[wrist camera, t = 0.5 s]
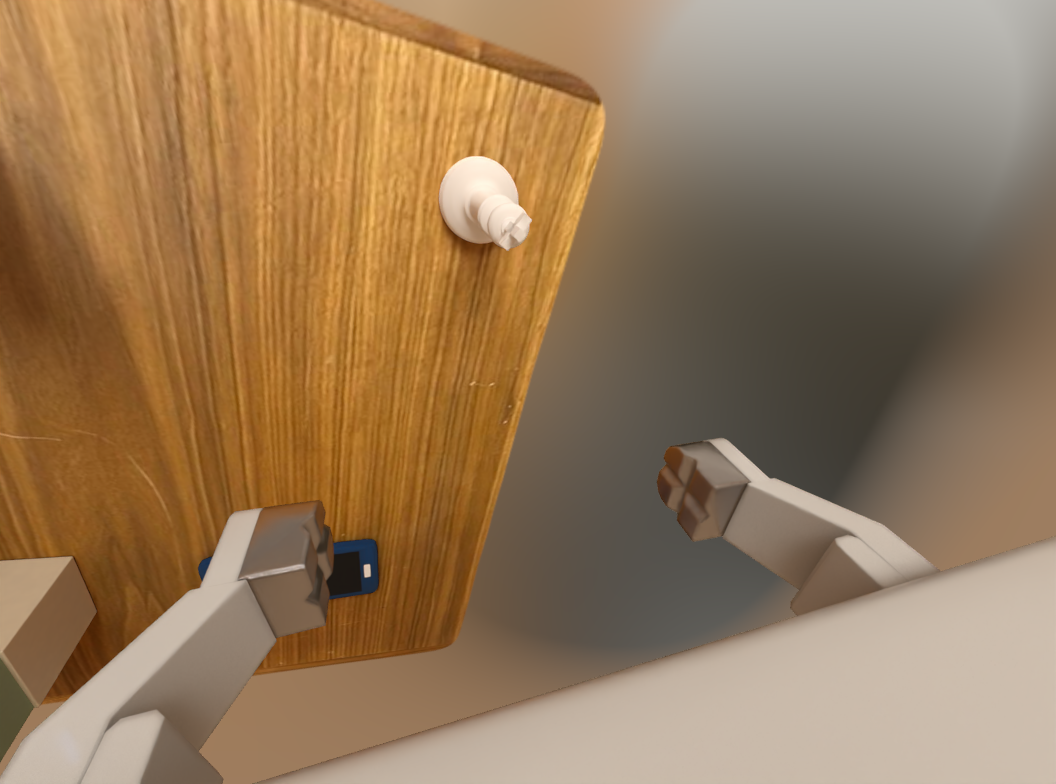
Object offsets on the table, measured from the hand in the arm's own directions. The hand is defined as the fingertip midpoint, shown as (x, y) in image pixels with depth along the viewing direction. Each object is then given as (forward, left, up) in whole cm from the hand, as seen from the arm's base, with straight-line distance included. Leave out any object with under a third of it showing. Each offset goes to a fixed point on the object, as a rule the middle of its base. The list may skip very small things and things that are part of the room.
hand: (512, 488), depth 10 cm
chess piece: (-3, +4, -21) cm, 22 cm away
